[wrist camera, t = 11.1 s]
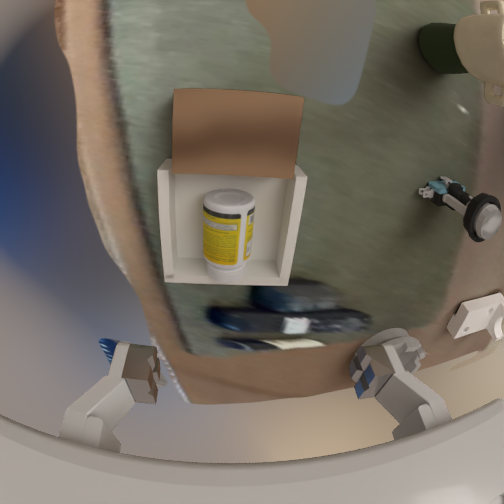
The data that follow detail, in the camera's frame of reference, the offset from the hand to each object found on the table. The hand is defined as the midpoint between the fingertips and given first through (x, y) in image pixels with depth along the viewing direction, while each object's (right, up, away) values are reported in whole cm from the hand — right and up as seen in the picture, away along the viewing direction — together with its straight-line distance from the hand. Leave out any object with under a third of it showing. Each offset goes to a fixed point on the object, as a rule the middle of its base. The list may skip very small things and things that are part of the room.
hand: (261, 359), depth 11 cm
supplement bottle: (-2, +9, +15) cm, 18 cm away
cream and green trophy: (+20, +27, +10) cm, 35 cm away
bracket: (+44, -7, +34) cm, 56 cm away
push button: (+23, +12, +19) cm, 32 cm away
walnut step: (-2, +16, +15) cm, 22 cm away
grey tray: (-3, +8, +20) cm, 21 cm away
